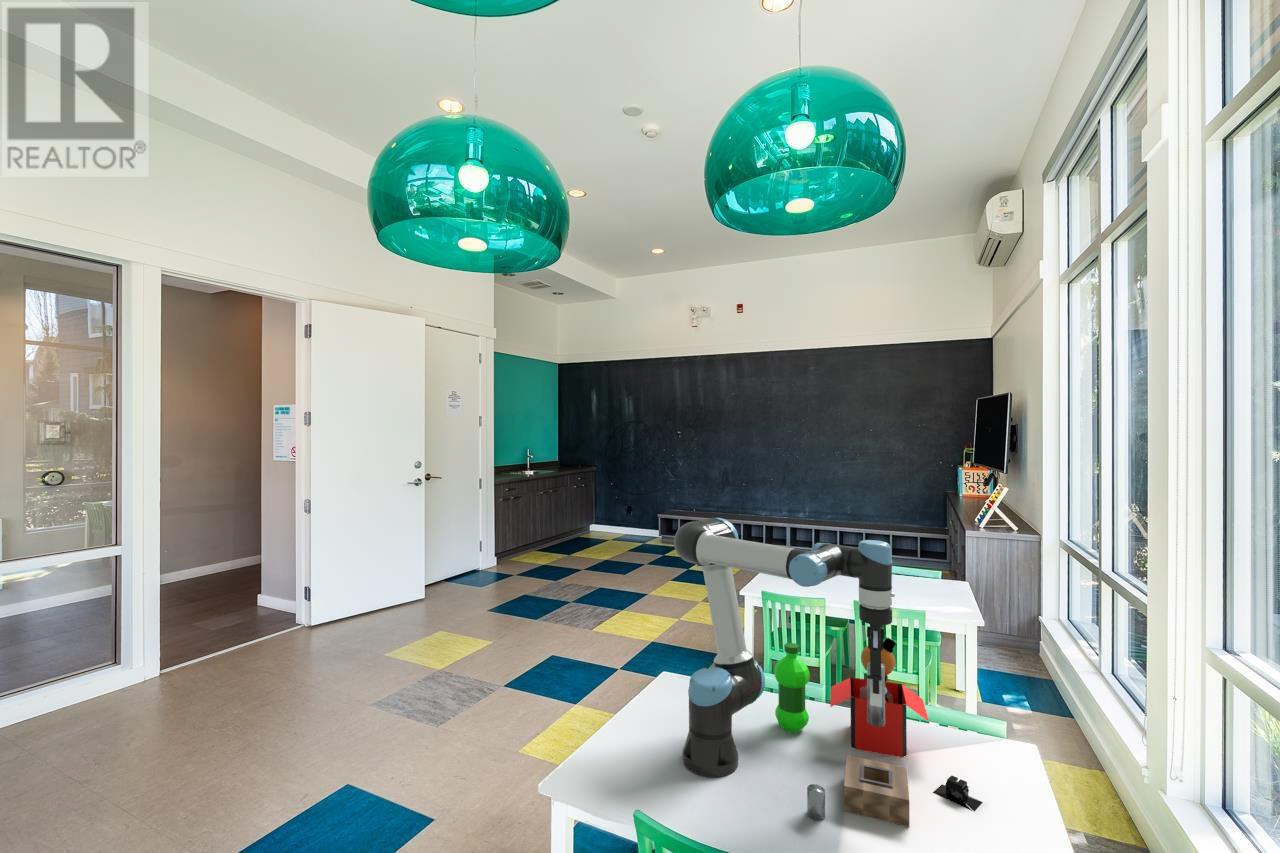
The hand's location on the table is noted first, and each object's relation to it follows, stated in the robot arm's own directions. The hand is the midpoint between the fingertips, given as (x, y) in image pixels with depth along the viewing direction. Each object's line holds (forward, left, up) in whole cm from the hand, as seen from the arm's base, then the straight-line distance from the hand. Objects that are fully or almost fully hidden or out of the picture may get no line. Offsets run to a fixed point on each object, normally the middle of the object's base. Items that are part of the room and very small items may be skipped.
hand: (876, 701), depth 141 cm
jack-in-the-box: (0, +31, -24) cm, 40 cm away
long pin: (0, 0, -5) cm, 5 cm away
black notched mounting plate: (+18, +10, -25) cm, 32 cm away
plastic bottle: (-24, +28, -24) cm, 44 cm away
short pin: (-13, -11, -24) cm, 30 cm away
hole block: (0, 0, -24) cm, 24 cm away
